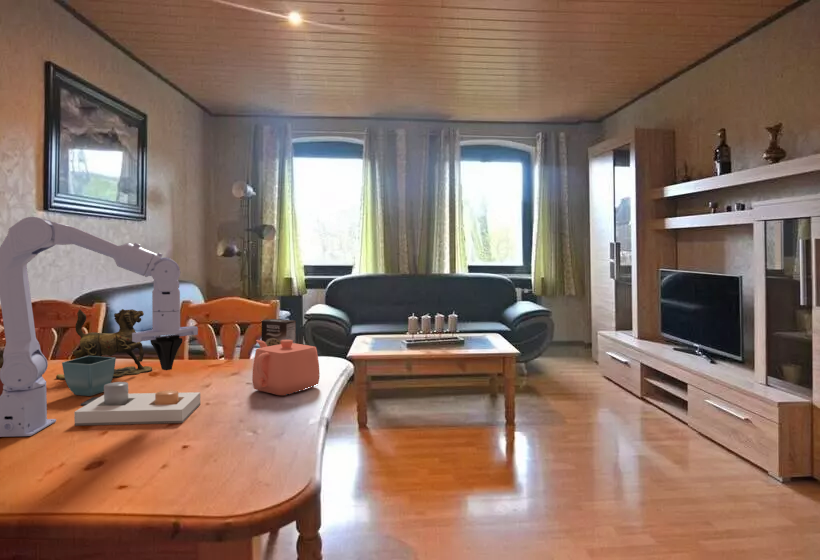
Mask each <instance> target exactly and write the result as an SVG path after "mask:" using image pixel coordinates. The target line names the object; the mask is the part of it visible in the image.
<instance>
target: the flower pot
mask: <svg viewBox="0 0 820 560" xmlns="http://www.w3.org/2000/svg"><path fill="white" fill-rule="evenodd" d="M116 360H117V358H116V357H112V356H101V357H99V356H84V357H82V358H78V359H77V358H73V359H71V360H66V361H63V362H61V365H62V370H63V371H62V372H63V375H64V377H65V380H64V381H65V383H66V385H67V387H68V388H69V390H70V391H71V392H72V393H73V395H76V396H88V397H93V396H95V395H97V394H101V393H104V385H105V384H108V383H112V381H113V379H114V378H113V375H114V369H115V367H116Z"/></svg>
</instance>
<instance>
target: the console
mask: <svg viewBox="0 0 820 560" xmlns="http://www.w3.org/2000/svg"><path fill="white" fill-rule="evenodd" d="M156 393H157V392H151V393H150V392H146V393H145V392H144V393H143V392H140V393H138V392H136V393H128V402H126V403H123V404H117V405H106V404H104V394H103V395H101V396H98V397H99V398H97V399H96V400H94V401H92V402H90V403H89V404H87V405H84V406H82V407H80V408H78V409H76V410H75V411H74V414H73V415H74V426H75V427H76V426H106V425H107V426H108V425H110V426H111V425H112V426H113V425H120V426H121V425H152V424H153V425H154V424H155V425H158V424H183V423H184V422H185V421H186V420H187V419H188V418H189V417H190V416H191V415H192V414H193V413H194V412H195V411H196V410H197V408H198V407H199V406H200V405H201V392H200V391H199V392H192V391H191V392H178V403H177V404H172V405H155V394H156ZM194 410H195V411H194ZM193 411H194V412H193Z"/></svg>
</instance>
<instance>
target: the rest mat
mask: <svg viewBox="0 0 820 560" xmlns="http://www.w3.org/2000/svg"><path fill="white" fill-rule="evenodd" d="M99 397H100V396H91V397H90V398H89V399H87V400H85V401H83V402H82V403H80V406H82V407H83V406H85V405H87V404H89V403H90V402H92V401H94V400H96V399H97V398H99Z"/></svg>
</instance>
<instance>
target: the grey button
mask: <svg viewBox="0 0 820 560" xmlns="http://www.w3.org/2000/svg"><path fill="white" fill-rule="evenodd" d="M128 394H129V382H125V381H116V382H111V383H108V384H105V385H104V392H103V395H104V404H106V405H117V404H123V403H126V402H128Z"/></svg>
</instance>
